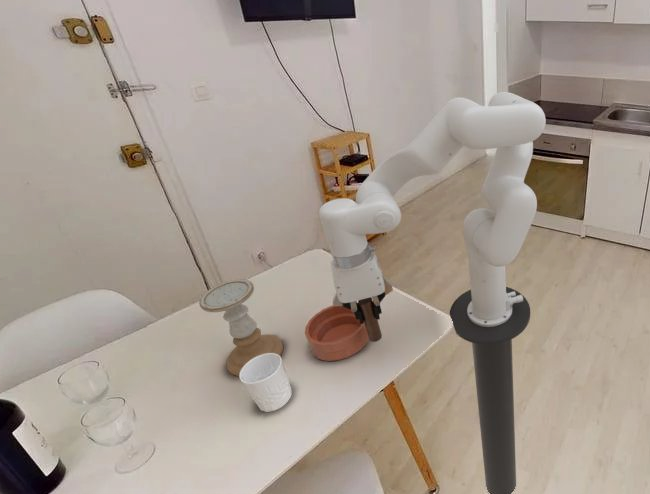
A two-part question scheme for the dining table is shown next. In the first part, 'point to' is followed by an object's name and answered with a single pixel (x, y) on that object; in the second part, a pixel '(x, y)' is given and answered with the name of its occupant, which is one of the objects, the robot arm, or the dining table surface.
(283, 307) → the dining table surface
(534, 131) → the robot arm
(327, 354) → the bowl
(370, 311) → the dark brown cylinder
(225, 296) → the candle holder
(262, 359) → the white cup
